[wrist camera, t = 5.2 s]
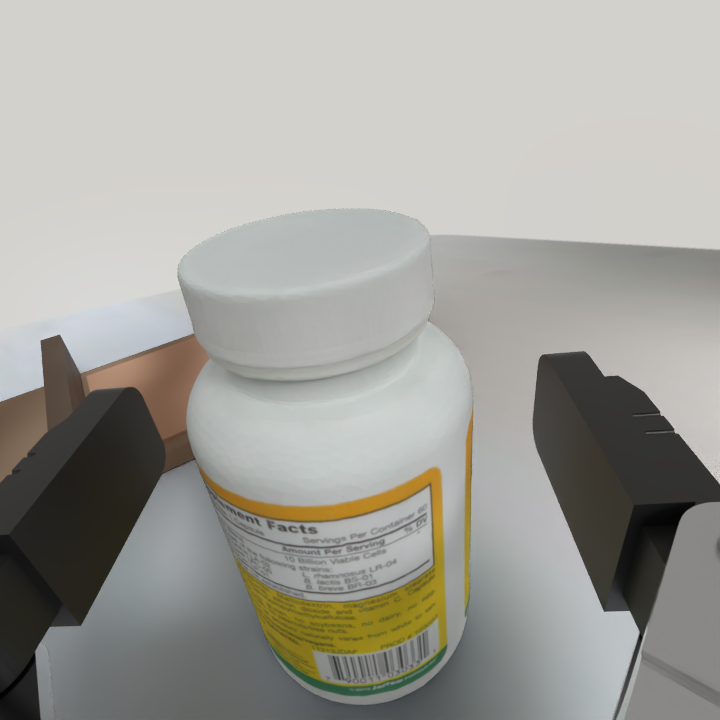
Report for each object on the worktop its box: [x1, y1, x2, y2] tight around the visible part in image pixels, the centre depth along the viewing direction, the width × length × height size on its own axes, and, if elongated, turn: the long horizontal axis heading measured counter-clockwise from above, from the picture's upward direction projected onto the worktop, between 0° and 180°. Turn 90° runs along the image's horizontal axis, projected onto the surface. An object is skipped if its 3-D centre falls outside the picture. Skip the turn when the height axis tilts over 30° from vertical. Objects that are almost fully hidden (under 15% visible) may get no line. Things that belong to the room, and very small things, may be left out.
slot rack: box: [0, 319, 429, 483], centre depth 20 cm, size 23×9×3 cm, turn 122°
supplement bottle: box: [178, 209, 473, 705], centre depth 10 cm, size 5×5×10 cm
